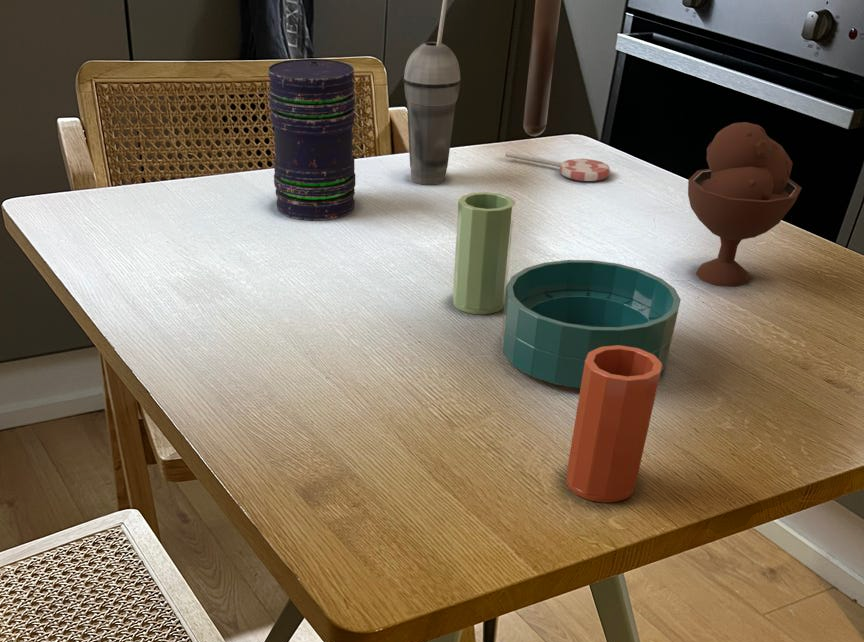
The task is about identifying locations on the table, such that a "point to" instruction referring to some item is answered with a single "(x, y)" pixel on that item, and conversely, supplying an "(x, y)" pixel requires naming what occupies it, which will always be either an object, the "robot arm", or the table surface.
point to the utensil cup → (612, 422)
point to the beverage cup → (431, 107)
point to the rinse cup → (482, 252)
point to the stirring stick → (541, 65)
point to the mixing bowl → (583, 316)
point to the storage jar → (313, 137)
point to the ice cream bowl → (740, 195)
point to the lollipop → (573, 167)
